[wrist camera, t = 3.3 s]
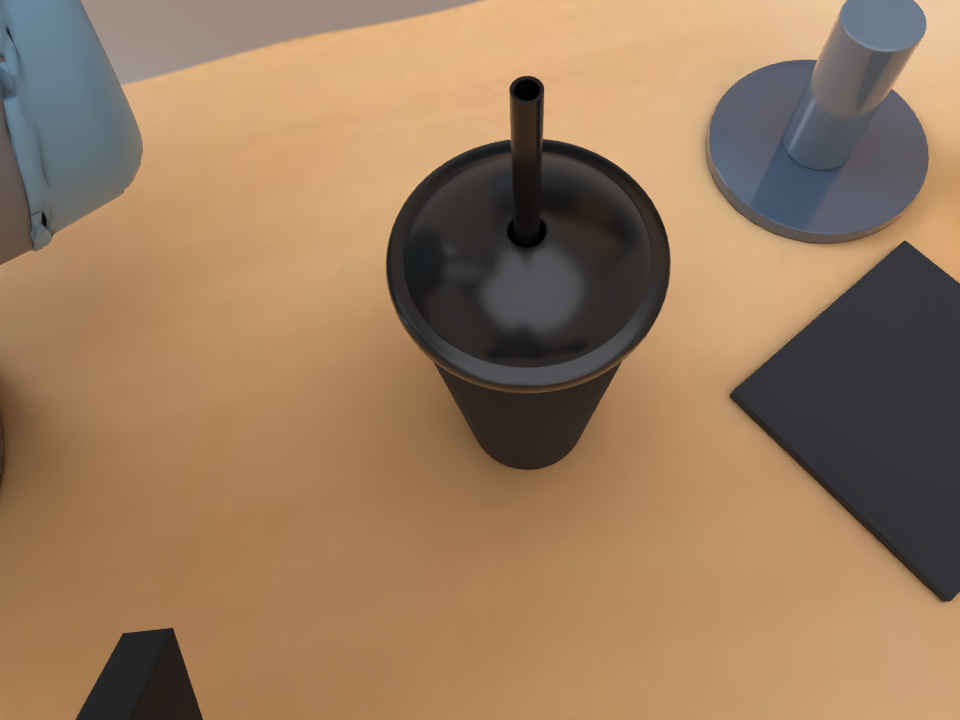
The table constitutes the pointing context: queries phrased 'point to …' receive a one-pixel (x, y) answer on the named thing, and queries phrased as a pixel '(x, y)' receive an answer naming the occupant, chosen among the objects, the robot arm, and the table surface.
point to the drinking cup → (528, 282)
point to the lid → (826, 132)
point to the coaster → (879, 409)
